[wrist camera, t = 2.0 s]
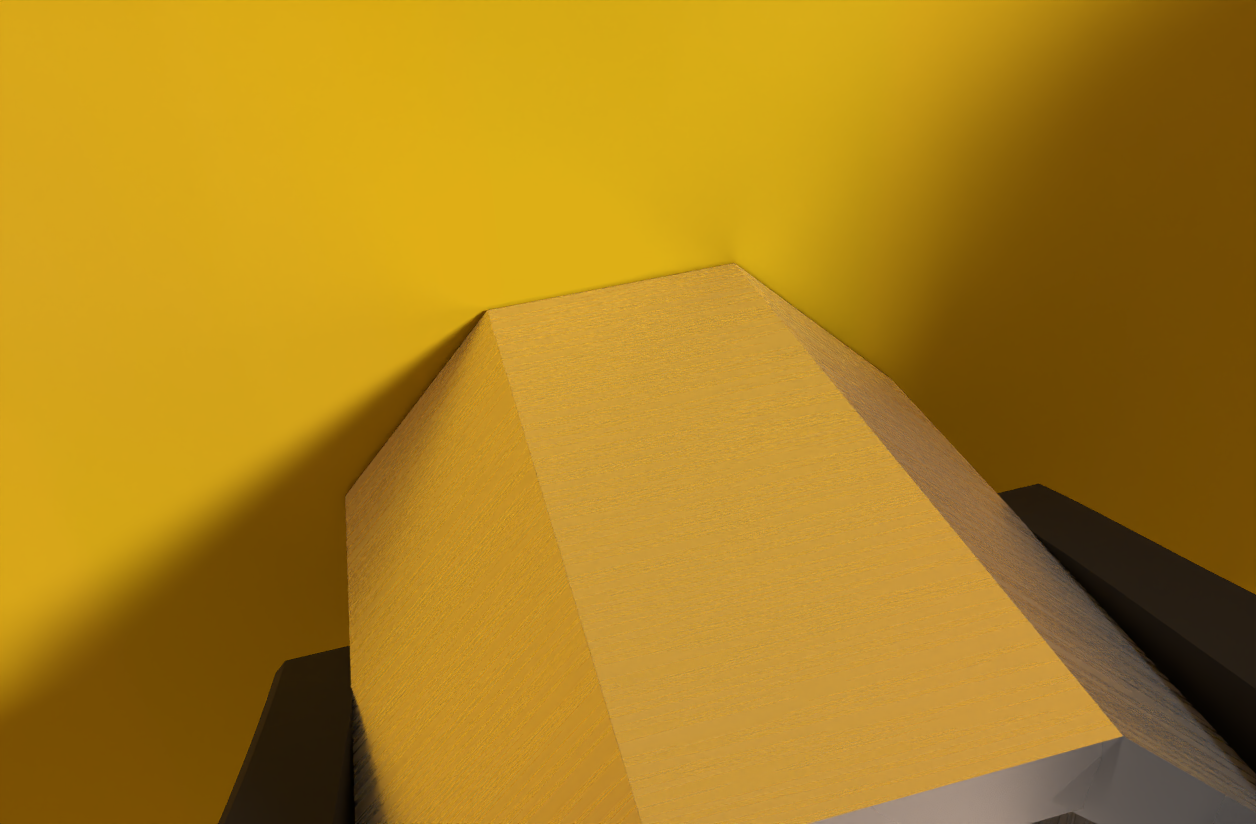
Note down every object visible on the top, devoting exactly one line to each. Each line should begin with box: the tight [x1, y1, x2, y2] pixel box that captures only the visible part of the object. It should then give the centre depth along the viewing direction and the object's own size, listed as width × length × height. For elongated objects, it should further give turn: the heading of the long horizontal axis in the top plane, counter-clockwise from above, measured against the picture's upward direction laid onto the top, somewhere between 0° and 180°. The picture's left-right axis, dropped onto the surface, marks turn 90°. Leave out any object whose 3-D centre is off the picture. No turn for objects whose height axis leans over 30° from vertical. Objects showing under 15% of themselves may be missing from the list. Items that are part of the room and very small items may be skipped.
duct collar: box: [345, 263, 1256, 824], centre depth 9 cm, size 6×6×6 cm
